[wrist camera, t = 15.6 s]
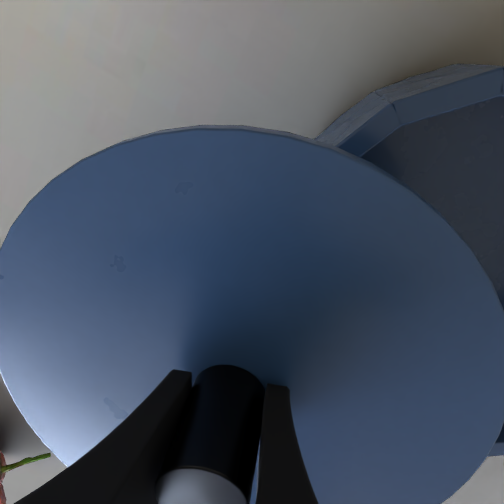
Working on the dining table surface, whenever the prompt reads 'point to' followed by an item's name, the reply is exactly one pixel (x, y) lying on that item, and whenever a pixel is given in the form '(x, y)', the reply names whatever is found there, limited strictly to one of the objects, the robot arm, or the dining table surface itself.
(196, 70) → the dining table surface
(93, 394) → the lid
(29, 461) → the pomegranate
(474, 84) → the pot
